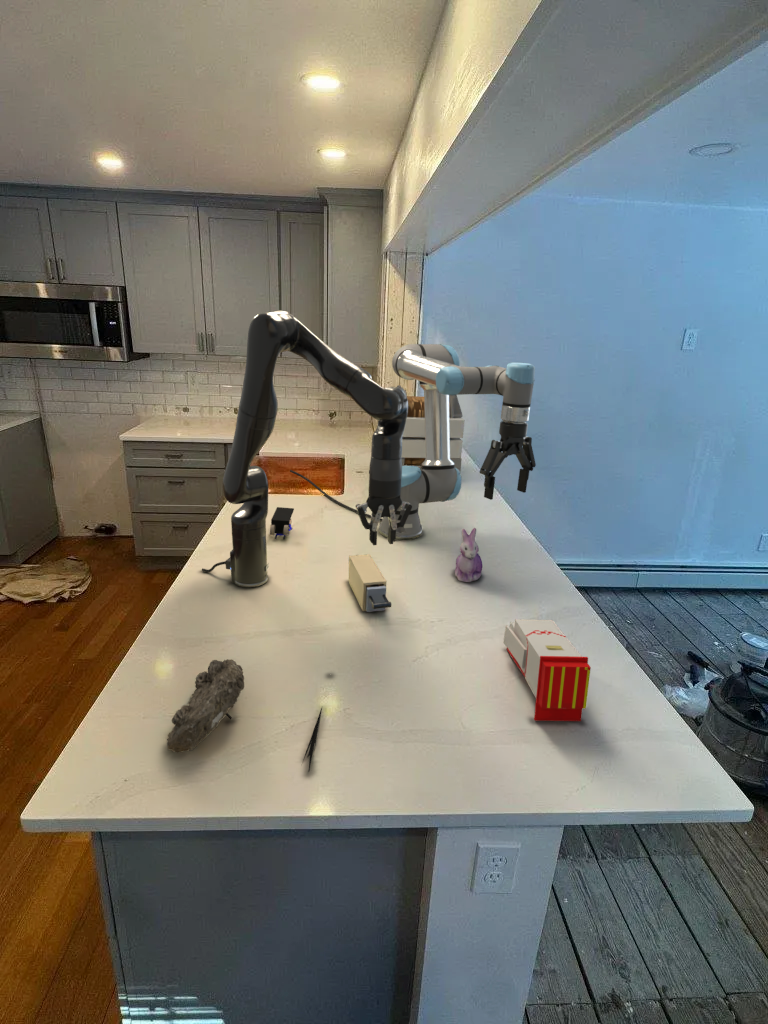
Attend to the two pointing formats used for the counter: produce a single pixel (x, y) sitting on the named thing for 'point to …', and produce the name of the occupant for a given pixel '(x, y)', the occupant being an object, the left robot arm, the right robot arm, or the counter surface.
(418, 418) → the grey slatted crate
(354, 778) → the counter surface
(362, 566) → the cabinet
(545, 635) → the toy
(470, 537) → the figurine
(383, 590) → the drawer
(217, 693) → the fossil
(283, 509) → the figurine character
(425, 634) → the counter surface
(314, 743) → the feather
